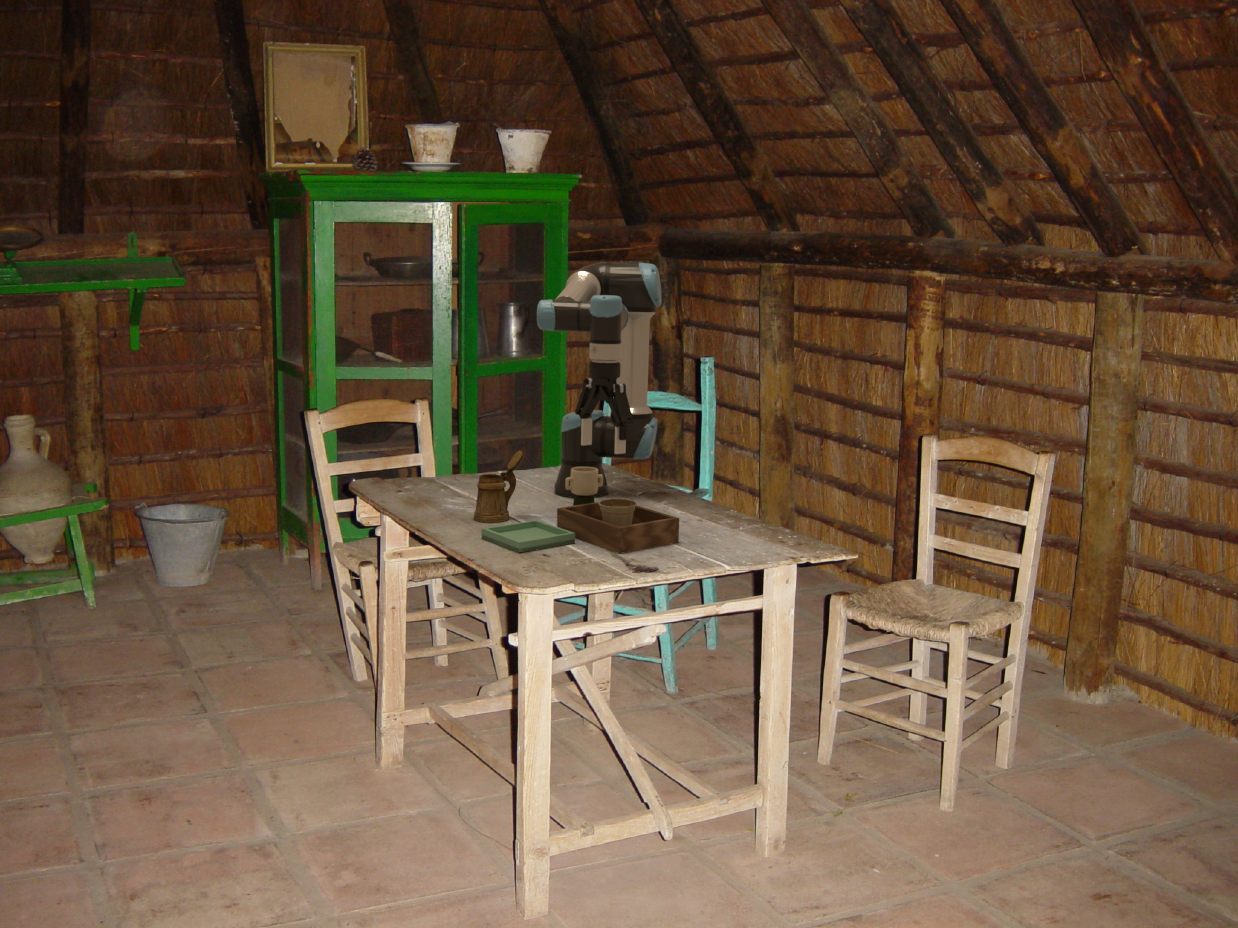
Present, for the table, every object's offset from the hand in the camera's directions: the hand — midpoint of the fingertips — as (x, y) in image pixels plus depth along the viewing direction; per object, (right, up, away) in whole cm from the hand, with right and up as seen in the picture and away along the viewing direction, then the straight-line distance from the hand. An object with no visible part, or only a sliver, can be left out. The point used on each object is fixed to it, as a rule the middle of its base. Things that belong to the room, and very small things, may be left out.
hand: (602, 449), depth 291 cm
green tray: (-18, -22, -2) cm, 28 cm away
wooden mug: (-27, -18, +20) cm, 38 cm away
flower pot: (+3, -22, +4) cm, 22 cm away
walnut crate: (+3, -21, +4) cm, 22 cm away
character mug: (-5, -18, +22) cm, 29 cm away
